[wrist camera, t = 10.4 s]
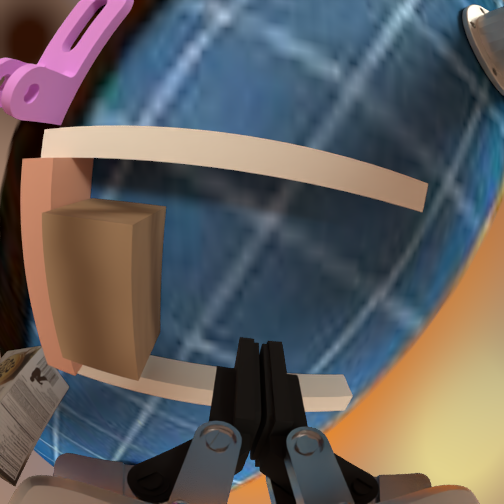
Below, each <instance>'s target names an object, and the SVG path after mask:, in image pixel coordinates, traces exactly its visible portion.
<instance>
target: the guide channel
mask: <svg viewBox="0 0 504 504" xmlns="http://www.w3.org/2000/svg"><path fill="white" fill-rule="evenodd" d="M94 158H113V159H132V160H146V161H159V162H170V163H180V164H190V165H198V166H207V167H215V168H222V169H229V170H236V171H243V172H249V173H255V174H262V175H267V176H273V177H279V178H284V179H289V180H295V181H300V182H305V183H310V184H314V185H319V186H324V187H328V188H333V189H337V190H341V191H346V192H350V193H354V194H358V195H362V196H366V197H370V198H374V199H377V200H381V201H385V202H388V203H392V204H396V205H399V206H403V207H406V208H409V209H413V210H416V211H419V212H423V208H424V203H425V198H426V193H427V188H428V183H425V182H422V181H420V180H417V179H414V178H412V177H409V176H406V175H403V174H400V173H397V172H394V171H391V170H388V169H385V168H382V167H379V166H376V165H373V164H369V163H366V162H363V161H359V160H356V159H352V158H348V157H345V156H341V155H337V154H333V153H329V152H325V151H321V150H317V149H313V148H308V147H304V146H299V145H295V144H290V143H285V142H280V141H274V140H269V139H263V138H257V137H251V136H244V135H238V134H230V133H223V132H215V131H206V130H196V129H184V128H171V127H152V126H84V127H67V128H54V129H45V130H44V137H43V144H42V152H41V158H29V159H23V161H22V175H21V232H22V245H23V256H24V264H25V272H26V279H27V285H28V291H29V296H30V301H31V306H32V311H33V315H34V319H35V323H36V327H37V331H38V335H39V338H40V342H41V345H42V348H43V352H44V355H45V358H46V361H47V364H48V365H50V366H52V367H54V368H57V369H59V370H62V371H64V372H67V373H69V374H72V375H75V376H76V374H77V373H78V374H81V375H83V376H86V377H89V378H92V379H95V380H98V381H101V382H105V383H108V384H111V385H115V386H118V387H122V388H125V389H129V390H133V391H137V392H141V393H145V394H149V395H153V396H158V397H162V398H167V399H172V400H178V401H183V402H189V403H195V404H202V405H209V406H211V403H212V396H213V389H214V382H215V376H216V369H217V367H215V366H208V365H202V364H195V363H189V362H183V361H178V360H172V359H167V358H162V357H157V356H153V355H150V356H149V358H148V360H147V363H146V365H145V367H144V370H143V372H142V374H141V377H140V379H139V381H136V380H132V379H128V378H124V377H121V376H117V375H114V374H110V373H107V372H104V371H100V370H97V369H94V368H91V367H88V366H85V365H82V364H79V363H76V362H73V361H71V360H68V359H65V358H63V357H62V353H61V349H60V346H59V342H58V338H57V334H56V330H55V325H54V321H53V316H52V311H51V305H50V300H49V294H48V287H47V280H46V272H45V263H44V252H43V237H42V213H43V212H46V211H50V210H53V209H56V208H59V207H63V206H66V205H69V204H73V203H76V202H80V201H84V200H87V199H90V194H91V180H92V169H93V160H94ZM287 374H290V373H287ZM296 375H297V376H298V378H299V383H300V388H301V393H302V399H303V404H304V409H305V412H318V411H340V410H345V409H346V407H347V405H348V403H349V402H350V400H351V398H352V396H353V395H352V393H351V391H350V389H349V386H348V384H347V382H346V379H345V377H344V375H321V374H296Z"/></svg>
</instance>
